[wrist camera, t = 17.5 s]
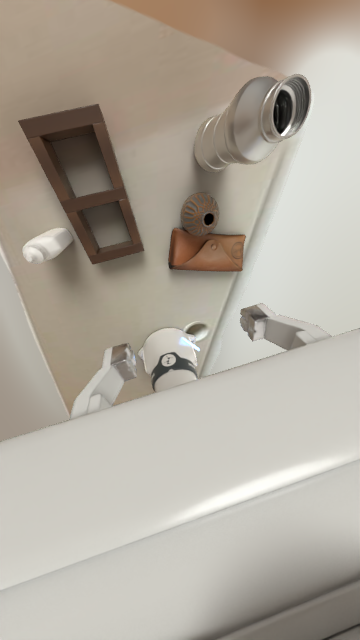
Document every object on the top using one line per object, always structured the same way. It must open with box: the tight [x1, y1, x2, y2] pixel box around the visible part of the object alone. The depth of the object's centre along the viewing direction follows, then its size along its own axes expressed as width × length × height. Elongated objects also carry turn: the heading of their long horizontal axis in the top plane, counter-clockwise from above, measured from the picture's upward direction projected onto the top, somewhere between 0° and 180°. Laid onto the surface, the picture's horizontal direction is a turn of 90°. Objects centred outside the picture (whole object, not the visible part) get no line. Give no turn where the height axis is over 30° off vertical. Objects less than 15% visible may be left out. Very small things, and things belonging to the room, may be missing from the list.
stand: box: [18, 104, 144, 264], centre depth 30 cm, size 19×10×4 cm, turn 11°
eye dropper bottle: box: [23, 228, 73, 264], centre depth 29 cm, size 4×6×12 cm
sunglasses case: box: [168, 228, 246, 271], centre depth 40 cm, size 18×7×7 cm, turn 84°
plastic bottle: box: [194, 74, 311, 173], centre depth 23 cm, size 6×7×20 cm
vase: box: [181, 193, 219, 236], centre depth 32 cm, size 7×7×9 cm
